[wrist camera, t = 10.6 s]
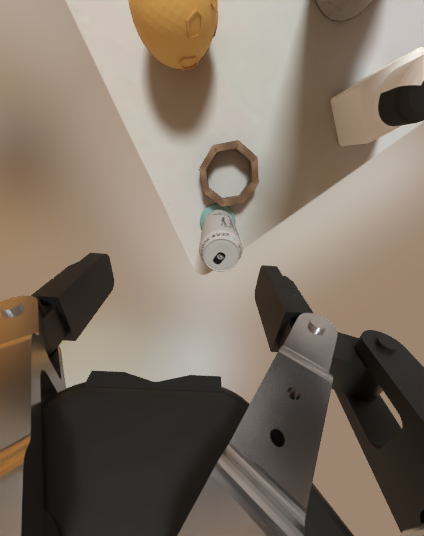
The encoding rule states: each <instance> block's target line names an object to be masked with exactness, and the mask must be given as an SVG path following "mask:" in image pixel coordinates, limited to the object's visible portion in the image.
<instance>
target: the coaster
mask: <svg viewBox="0 0 424 536" xmlns="http://www.w3.org/2000/svg"><path fill="white" fill-rule="evenodd" d="M214 210H223V211H226V212H228V213H229V214H230V215H231V217H232V219H233V221H234V224H235V216H234V214H233V212H232V210H231V209H230V208H229V207H227V206H223V207H222V206H220V205H219V204H214V205H211V206H209V207H207V208H206V209H205V210H204V211H203V213H202V215H201V219H200V225H201V228H203V221H204V219H205V217H206V216H207V214H208V213H210V212H211V211H214Z"/></svg>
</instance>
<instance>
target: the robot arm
mask: <svg viewBox="0 0 424 536" xmlns="http://www.w3.org/2000/svg"><path fill="white" fill-rule="evenodd" d="M372 1H373V0H316V2H317V5H318V6H319V8H320V10H321V11H322V12H323V13H324V14H325V15H326V16H327V17H328V18H330V19H332V20H337V21H342V20H348V19H350V18H352V17H354V16H356V15H357V14H359V13H360V12H361V11H363V10H364V9H365V8H366V7H367V6H368V5H369V4H370V3H371V2H372ZM113 286H114V277H113V272H112V268H111V263H110V258H109V256H108V255H107V254H100V253H89V254H88V255H87V256H86V257H84V258H83V259H82V260H81V261H79V262H77V263H75V264H73V265H70V266H68V267H67V268H65V269H64V270H63V271H62V272H61V273H60V274H58V275H57V276H55V277H54V279H51V280H50V281H49V282H48V283H46V284H45V285H44V286H43V287H41V288H40V289H39V290H37V291H36V292H35V293H34V294H32V295H31V296H18V297H13V298H10V299H7V300H4V301H2V302H0V536H354V535H353V534H352V533H351V531H350V530H349V529H348V528H347V526H346V525H345V524H344V522H343V521H342V520H341V519H340V517H339V516H338V515H337V513H336V512H335V511H334V510H333V508H332V507H331V506H330V505H329V503H328V502H327V501H326V499H325V498H324V497H323V496H322V494H321V493H320V492H319V491H318V489H317V488H316V487H315V485H314V484H313V483H312V481H313V476H314V471H315V466H316V461H317V456H318V451H319V446H320V442H321V437H322V431H323V427H324V422H325V417H326V412H327V407H328V402H329V397H330V392H331V388H332V389H334V390H335V392H336V394H337V397H338V398H339V401H340V403H341V405H342V407H343V409H344V411H345V414H346V416H347V418H348V420H349V422H350V424H351V427H352V429H353V430H354V433H355V435H356V437H357V439H358V441H359V443H360V445H361V448H362V450H363V452H364V454H365V456H366V459H367V461H368V463H369V465H370V467H371V469H372V471H373V473H374V476H375V478H376V480H377V482H378V484H379V486H380V488H381V491H382V493H383V495H384V497H385V499H386V501H387V504H388V506H389V508H390V510H391V512H392V514H393V516H394V518H395V521H396V523H397V525H398V527H399V529H400V531H401V535H400V536H424V367H423V366H422V365H421V364H420V363H419V362H418V361H417V360H416V359H415V358H414V356H413V355H412V354H411V353H410V352H409V351H408V350H407V349H406V348H405V347H404V346H403V345H402V344H401V343H399V342H398V341H397V340H395V339H394V338H392V337H390V336H388V335H386V334H384V333H381V332H378V331H374V330H367V331H364V332H363V333H362V335H361V336H360V338H356V337H352V336H349V335H345V334H342V333H339V332H337V330H336V328H335V326H334V325H333V324H332V323H331V322H330V321H328V320H327V319H325V318H324V317H321V316H319V315H317V314H314V313H313V312H312V310H311V309H310V307H309V306H308V304H307V302H306V301H305V299H304V298H303V296H302V295H301V293H300V292H299V290H298V289H297V287H296V285H295V284H294V282H293V281H291V280H290V279H289V278H287V277H286V276H282V274H281V273H280V271H279V269H278V268H277V267H276V266H261V268H260V272H259V276H258V280H257V285H256V289H255V301H256V304H257V307H258V311H259V314H260V317H261V321H262V324H263V327H264V330H265V334H266V337H267V341H268V344H269V347H270V350H271V352H278V353H277V355H276V357H275V359H274V360H273V362H272V364H271V366H270V368H269V370H268V372H267V373H266V375H265V377H264V379H263V381H262V383H261V385H260V387H259V388H258V391H257V392H256V394H255V396H254V398H253V400H252V401H251V403H250V404H249V403H248V402H247V401H245V400H244V399H243V398H242V397H240V396H239V395H237V394H236V393H234V392H232V391H230V390H228V389H226V388H223V387H221V377H217V376H195V375H189V376H184V377H179V378H175V379H170V380H165V381H161V382H152V381H149V380H146V379H143V378H140V377H137V376H134V375H131V374H128V373H125V372H107V371H92V372H91V374H90V375H89V377H88V379H87V381H86V382H85V383H81V384H78V385H74V386H72V387H70V388H67V389H66V385H65V378H64V370H63V363H62V355H61V349H60V347H59V344H60V343H61V342H62V340H69V341H76V340H77V338H78V337H79V335H80V334H81V332H82V331H83V330H84V328H85V327H86V326H87V324H88V323H89V322H90V320H91V319H92V318H93V316H94V315H95V313H96V312H97V311H98V309H99V308H100V306H101V305H102V304H103V302H104V301H105V300H106V298H107V297H108V295H109V294H110V293H111V291H112V290H113ZM382 391H384V392H385V394H386V395H387V397H388V398H389V399H390V401H391V402H392V404H393V405H394V407H395V408H396V410H397V411H398V413H399V415H400V417H401V420H402V425H403V428H402V429H401V427H400V426H399V424H398V422H397V421H396V419H395V418H394V416H393V415H392V413H391V412H390V410H389V408H388V407H387V405H386V404H385V402H384V401H383V399H382V398H381V396H380V395H379V394H380V393H381V392H382Z"/></svg>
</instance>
